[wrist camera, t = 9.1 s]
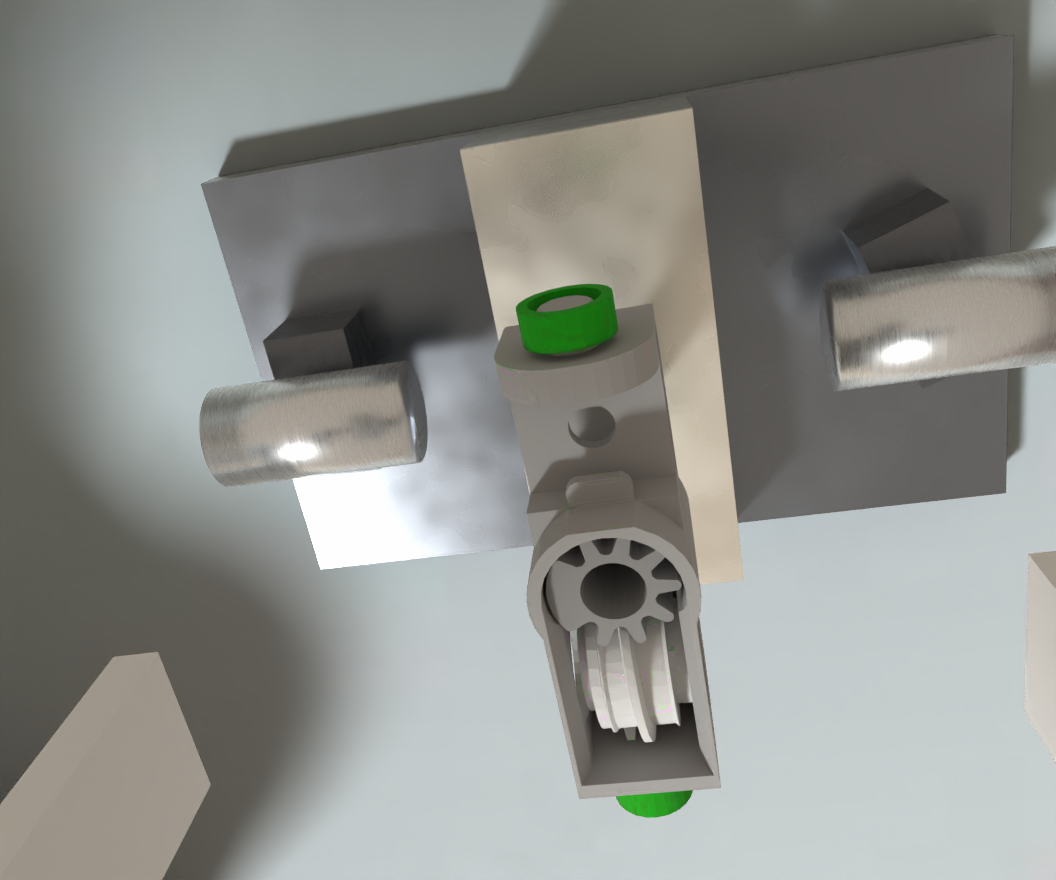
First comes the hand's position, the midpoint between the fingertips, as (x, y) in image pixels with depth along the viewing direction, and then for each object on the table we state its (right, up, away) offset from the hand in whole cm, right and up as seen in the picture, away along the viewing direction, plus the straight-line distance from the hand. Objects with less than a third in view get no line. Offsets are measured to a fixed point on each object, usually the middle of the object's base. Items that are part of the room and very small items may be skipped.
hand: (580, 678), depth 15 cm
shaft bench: (+2, +7, +15) cm, 17 cm away
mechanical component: (+2, +5, +11) cm, 12 cm away
